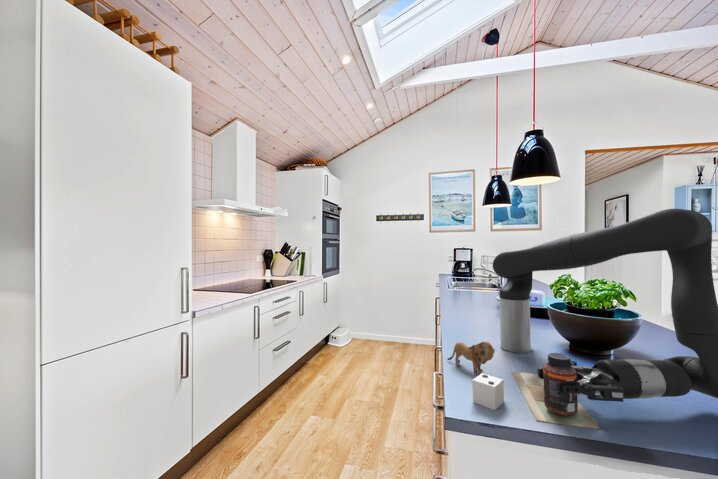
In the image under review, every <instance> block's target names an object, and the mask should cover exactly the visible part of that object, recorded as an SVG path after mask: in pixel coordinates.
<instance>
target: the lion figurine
mask: <svg viewBox="0 0 718 479" xmlns="http://www.w3.org/2000/svg"><path fill="white" fill-rule="evenodd" d="M495 352H496V350H495V348H493V345H492V344H491V343H490V342H489V341H482V342H479V343H477V344H476V343H475V344H473V345H472V346H468V345H466V344H465V343H463V342H460V341H459V342H456V343H455V345H454V348H453V352H452V355H451V356H450V357H448V358H447V360H448V361H451V360H452V359H453V358H454V356H455V359H454V361H455V367H457V368H461V365H460V364H459V363H460V362H461V360H460V357H462V356H463V357H464V358H465V359H466V360H468V361H470V362H472V367H473V374H474V375H475V376H479V375H480V373H483V371H484V370H483V369H482V368H481V366H482V365H485V364H486V363H487V362H488V361H491V360H492V359H493V357H494V354H495Z"/></svg>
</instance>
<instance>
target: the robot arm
mask: <svg viewBox="0 0 718 479" xmlns="http://www.w3.org/2000/svg"><path fill="white" fill-rule="evenodd" d="M712 244H713V225H712V222H711V221H710V219H709V218H708V217H707V216H706V215H704V214H702V213H700V212H698V211H695V210H691V209H683V208H668V209H663V210H660V211H655V212H654V213H651V214H648V215H645V216H642V217H639V218H636V219H634V220H631V221H627V222H625V223H622V224H619V225H615V226H610V227H604V228H599V229H592V230H587V231H584V232H579V233H574V234H571V235H567V236H564V237H560V238H556V239H553V240H550V241H546V242H543V243H541V244H537V245H535V246H532V247H529V248H528V247H527V248H526V249H525V248H524V249H519V250H513V251H512V250H511V251H503V252H501V253H499V254H498V255H496V257H494V260H493V262H492V270H493V271H494V273H495V274H496V275H497V276H498V277H500V278H503V279H506V283H505V284H504V285H503V287H501V288H500V289H499V292H498V293H499V294H498V295H499V322H500V323H499V329H500V331H499V332H500V334H499V336H500V337H499V338H500V348H501V349H503V350H504V351H507V352H511V353H519V354H525V353H530V352H531V351H532V345H531V344H532V341H531V340H532V339H531V334H532V333H531V332H532V331H531V306H530V304H531V303H530V302H531V301H530V300H531V299H530V295H531V292H532V291H533V274H534V273H533V272H541V271H543V272H544V271H545V272H546V271H560V270H571V269H577V268H585V267H591V266H593V265H594V266H595V265H597V264H601V263H602V264H603V263H604V262H605V263H606V262H607V261H610V260H613V259H615V258H618V257H622V256H627V255H632V254H641V253H651V252H665V251H666V252H667V254H668V257H669V261H670V265H671V272H672V283H671V284H672V286H671V287H672V288H671V295H670V296H671V297H670V305H671V306H670V308H671V309H670V310H671V316H672V317H671V318H672V322H673V327H674V332H675V333H674V334H675V337H676V339H677V341H678V343H679V344H681V345H682V346H683V347H684V346H685V347H686V348H688V349H690V350H692V351H693V352H695V353H696V355H697V357H696V356H689V355H688V356H686V355H683V356H682V355H678V356H673V357H672V356H671V357H668V358H665V359H663V360H661V359H654V360H651V359H649V360H648V359H647V360H645V359H644V360H641V359H633V358H632V359H630V358H629V359H628V358H627V359H600V360H597V362H595V364H594V365H593V366H588V365H587V366H586V365H581V366H579V365H578V362H577V361H576V360H575V361H574V360H570V361H571V364H570V365H571V366H572V367H573V368H574V369H575V370H576V374H577V382H576V381H557V382H556V390H557V392H559V393H560V394H565V393H577V395H579V396H583V397H584V396H586V397H587V399H588V400H590V401H599V402H600V401H601V402H620V403H621V402H624V400H628V399H630V400H634V399H636V400H637V399H638V400H639V399H646V400H647V399H653V398H664V397H665V398H666V397H667V398H668V397H669V398H671V397H672V398H673V397H675V398H676V397H682V396H685V395H687V394H689V393H690V391H695V392H698V393H701V394H703V395H706V396H710V397H712V398H714V399H715V398H716V399H718V300H717V295H716V290H715V285H714V276H713V267H712V262H713V261H712V247H713V246H712ZM537 374H538V377H539V378H541V379H543V367H539V368H537Z"/></svg>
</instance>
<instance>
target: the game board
mask: <svg viewBox="0 0 718 479" xmlns="http://www.w3.org/2000/svg"><path fill="white" fill-rule="evenodd" d="M511 374H512V376H513V378H514V379H515V381H516V383H517V385H518V387H519V390H520V391H521V393H522V395H523V397H524V399H525V401H526V403H527V405H528V407H529V409H530V411H531V413H532V415H533V417H534V419H535V420H536V422H542V423H550V424H559V425H566V426H571V427H572V426H574V427H580V428H589V429H596V430H597V429H598V430H601V427H600V426H599V424H597V422H596V421H595V420H594V418H592V416H591V415H590V414H589V413H588V412H587V410H586V409H585V408H584V407H583V405H581V403H580V402H579V401H578V412H577V414H576V415H573V416H564V415H559V414H557V413H554V412H552V411H550V410H549V409H548V408H547V407H546V406H545V403H544V381H543V379H541V378H539V377H538V373H530V372H520V371H511Z"/></svg>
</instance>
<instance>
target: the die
mask: <svg viewBox="0 0 718 479" xmlns="http://www.w3.org/2000/svg"><path fill="white" fill-rule="evenodd" d="M504 385H505V384H504V379H503V378H499V377H496V376H493V375H489V374H486V373H483V372H481V373H479V374H478V375H476V376H475V377H474V378H472V402H473V403H475V404H478V405H480V406H483V407H485V408H488V409H491V410H493V411H497V409H498V408H499V407H501V405H502V404H504V403H505V392H504V391H505V390H504V387H505V386H504Z"/></svg>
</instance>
